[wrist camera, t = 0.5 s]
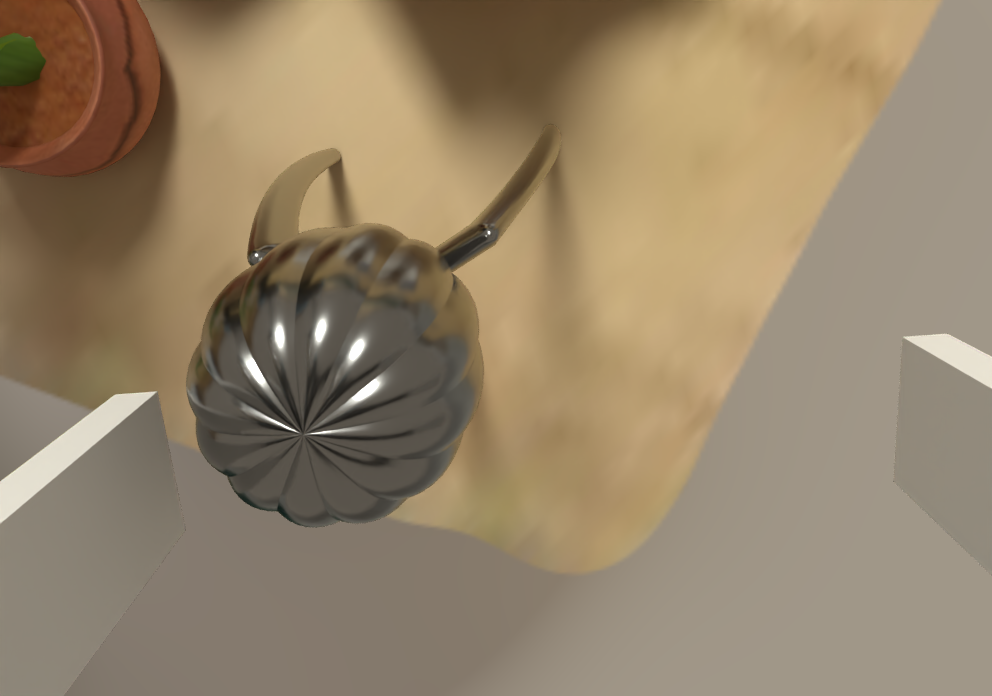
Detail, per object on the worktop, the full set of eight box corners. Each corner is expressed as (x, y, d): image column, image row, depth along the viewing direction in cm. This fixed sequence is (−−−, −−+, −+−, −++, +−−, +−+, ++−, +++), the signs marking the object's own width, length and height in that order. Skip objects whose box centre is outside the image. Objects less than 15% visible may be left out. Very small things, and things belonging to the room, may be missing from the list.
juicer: (325, 148, 40) (-160, 236, 11) (557, 123, 39) (696, 143, 10) (355, 343, 42) (31, 833, 13) (573, 322, 42) (722, 779, 13)
